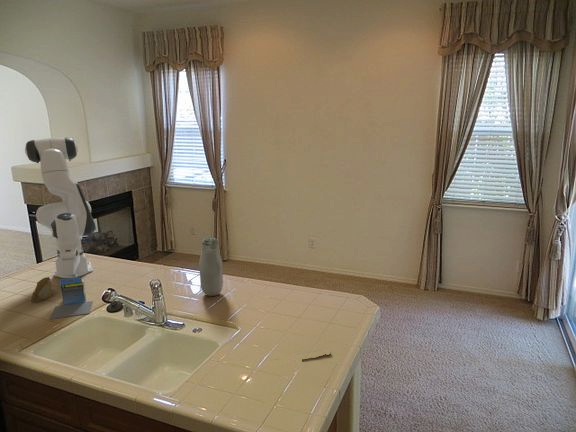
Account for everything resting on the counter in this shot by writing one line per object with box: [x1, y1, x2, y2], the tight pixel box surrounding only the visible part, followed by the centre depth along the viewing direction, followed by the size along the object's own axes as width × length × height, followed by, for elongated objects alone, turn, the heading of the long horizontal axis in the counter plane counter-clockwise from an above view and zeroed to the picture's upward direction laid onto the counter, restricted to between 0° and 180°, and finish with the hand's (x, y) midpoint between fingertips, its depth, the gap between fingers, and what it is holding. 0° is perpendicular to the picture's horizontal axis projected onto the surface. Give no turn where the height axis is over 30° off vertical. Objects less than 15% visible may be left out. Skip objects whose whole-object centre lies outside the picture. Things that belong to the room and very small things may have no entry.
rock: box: [30, 276, 54, 303], centre depth 189 cm, size 11×9×10 cm
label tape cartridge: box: [59, 276, 87, 305], centre depth 184 cm, size 9×4×12 cm, turn 108°
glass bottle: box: [198, 236, 224, 297], centre depth 189 cm, size 10×10×28 cm
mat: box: [49, 300, 94, 320], centre depth 178 cm, size 12×15×1 cm
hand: (74, 277), depth 189 cm, fingers closed
